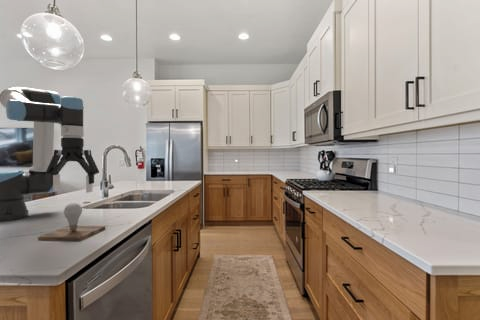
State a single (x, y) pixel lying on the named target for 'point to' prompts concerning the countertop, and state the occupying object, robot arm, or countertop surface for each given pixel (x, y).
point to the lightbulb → (73, 214)
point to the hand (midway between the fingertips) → (72, 191)
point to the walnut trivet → (72, 233)
